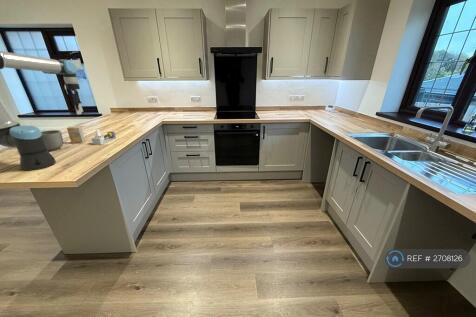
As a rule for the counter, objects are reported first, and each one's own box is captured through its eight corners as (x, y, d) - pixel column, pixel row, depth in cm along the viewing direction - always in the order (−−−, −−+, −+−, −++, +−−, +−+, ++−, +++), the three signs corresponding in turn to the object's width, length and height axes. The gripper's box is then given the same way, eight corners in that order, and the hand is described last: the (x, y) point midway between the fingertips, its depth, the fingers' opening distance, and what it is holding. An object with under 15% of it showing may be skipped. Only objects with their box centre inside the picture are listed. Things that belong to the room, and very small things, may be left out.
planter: (36, 151, 140) (29, 133, 135) (59, 145, 152) (53, 129, 147) (48, 153, 135) (41, 135, 130) (70, 147, 147) (65, 131, 142)
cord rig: (101, 144, 155) (99, 137, 152) (92, 144, 155) (90, 137, 153) (117, 138, 173) (116, 131, 170) (109, 137, 173) (107, 131, 171)
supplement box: (71, 143, 156) (66, 127, 152) (74, 142, 161) (69, 126, 156) (83, 143, 159) (78, 127, 154) (85, 141, 163) (81, 126, 158)
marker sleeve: (102, 142, 157) (99, 130, 153) (96, 141, 157) (93, 130, 154) (104, 141, 160) (102, 130, 156) (99, 140, 160) (96, 129, 157)
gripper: (76, 83, 133) (85, 114, 141) (80, 83, 152) (87, 110, 160) (62, 83, 129) (72, 115, 137) (67, 83, 148) (75, 111, 156)
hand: (80, 113), depth 148 cm, fingers open, 13 cm apart
